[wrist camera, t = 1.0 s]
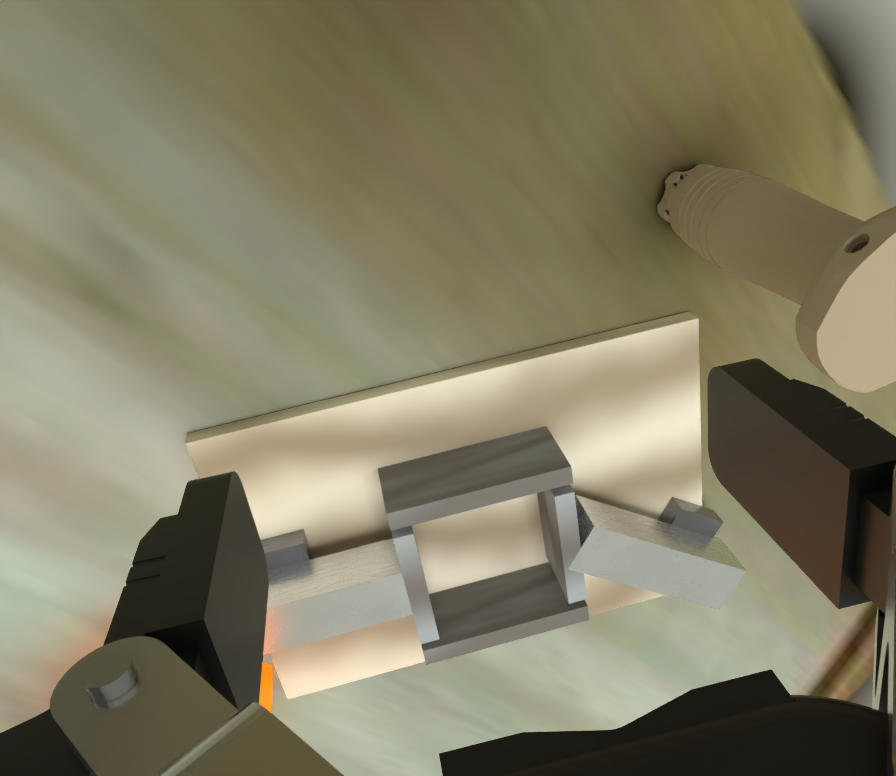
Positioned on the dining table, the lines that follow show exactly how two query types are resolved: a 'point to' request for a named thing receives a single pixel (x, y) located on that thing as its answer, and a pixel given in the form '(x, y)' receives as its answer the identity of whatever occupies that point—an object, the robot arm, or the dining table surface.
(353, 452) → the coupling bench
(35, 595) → the dining table surface
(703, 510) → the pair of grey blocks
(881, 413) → the dining table surface
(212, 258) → the dining table surface
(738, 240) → the handle
